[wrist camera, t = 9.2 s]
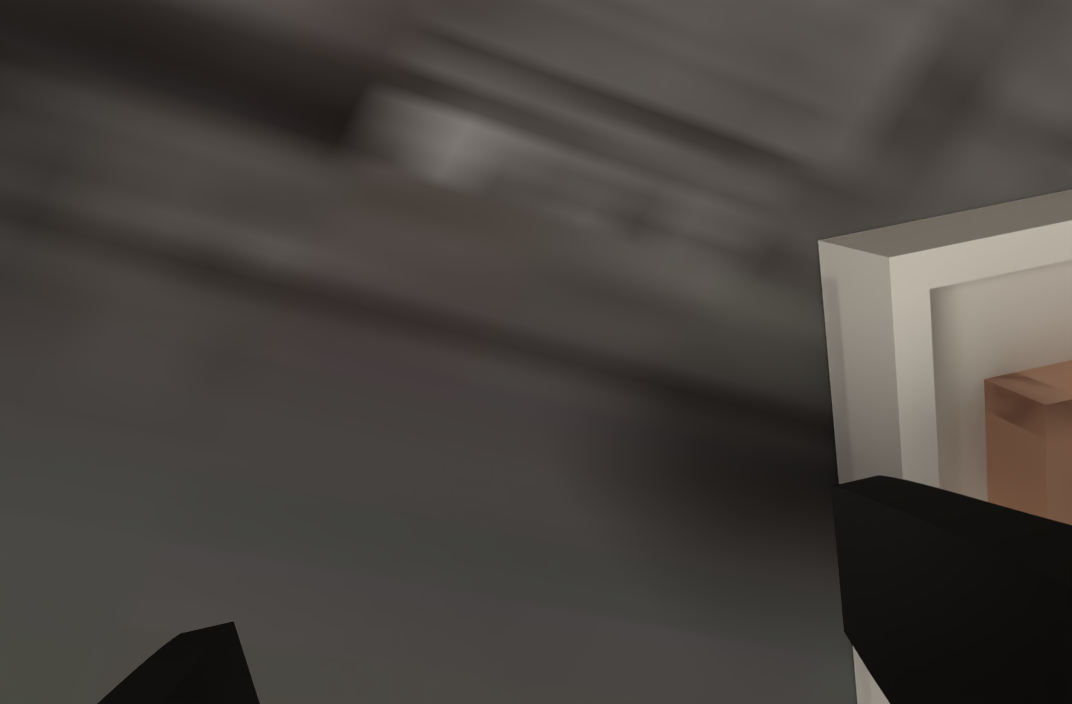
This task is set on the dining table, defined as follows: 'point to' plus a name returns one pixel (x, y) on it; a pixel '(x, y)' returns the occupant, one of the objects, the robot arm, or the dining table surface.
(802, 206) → the dining table surface
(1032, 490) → the walled box
